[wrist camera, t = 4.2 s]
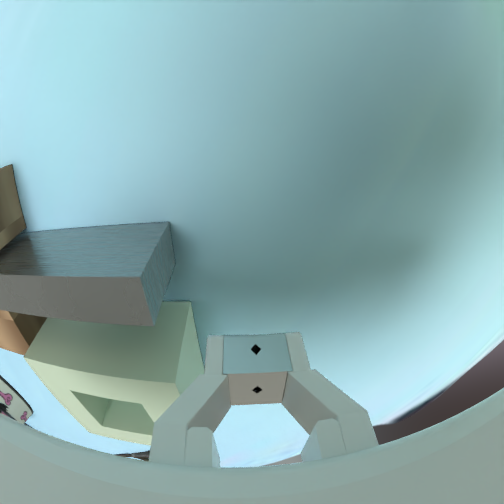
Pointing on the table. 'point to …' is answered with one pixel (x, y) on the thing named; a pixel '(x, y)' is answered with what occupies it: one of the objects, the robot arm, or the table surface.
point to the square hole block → (118, 369)
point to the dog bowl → (13, 403)
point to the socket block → (3, 231)
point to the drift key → (89, 273)
